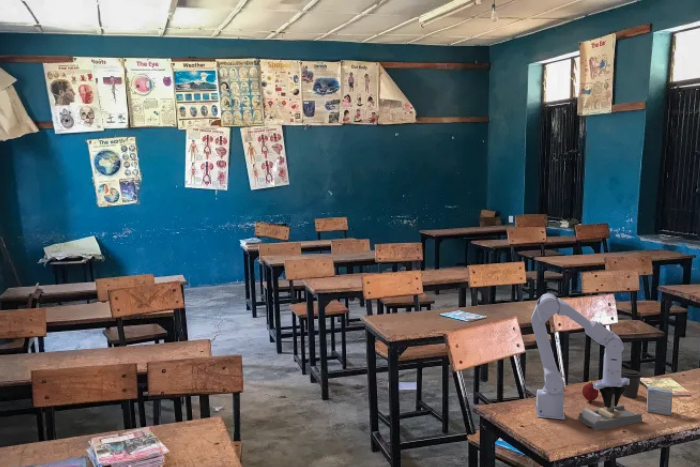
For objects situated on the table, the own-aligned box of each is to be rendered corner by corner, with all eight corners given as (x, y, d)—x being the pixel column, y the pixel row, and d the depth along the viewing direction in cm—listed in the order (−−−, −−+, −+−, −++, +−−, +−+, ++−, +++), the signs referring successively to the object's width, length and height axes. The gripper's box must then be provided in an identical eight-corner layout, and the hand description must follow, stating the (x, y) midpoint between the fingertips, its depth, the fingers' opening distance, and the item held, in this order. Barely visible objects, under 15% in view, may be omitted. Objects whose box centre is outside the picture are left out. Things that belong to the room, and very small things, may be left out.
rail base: (597, 430, 194) (597, 418, 193) (578, 420, 202) (578, 407, 202) (641, 421, 201) (642, 409, 200) (621, 411, 209) (622, 399, 208)
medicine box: (670, 411, 209) (671, 388, 208) (671, 416, 205) (672, 392, 204) (646, 407, 212) (647, 385, 212) (646, 412, 208) (648, 389, 207)
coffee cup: (623, 390, 230) (624, 366, 229) (644, 395, 224) (645, 371, 223) (614, 395, 224) (615, 370, 223) (636, 401, 218) (637, 376, 217)
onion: (600, 404, 215) (601, 384, 215) (585, 404, 216) (586, 384, 215) (594, 398, 221) (595, 378, 220) (579, 398, 221) (580, 378, 221)
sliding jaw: (611, 420, 197) (612, 398, 197) (598, 414, 203) (599, 392, 202) (622, 418, 199) (623, 396, 198) (609, 411, 205) (610, 390, 204)
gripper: (604, 375, 193) (603, 413, 194) (637, 370, 198) (635, 407, 199) (589, 368, 200) (587, 405, 201) (621, 363, 205) (619, 400, 206)
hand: (610, 406), depth 201 cm, fingers closed on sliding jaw, 2 cm apart
